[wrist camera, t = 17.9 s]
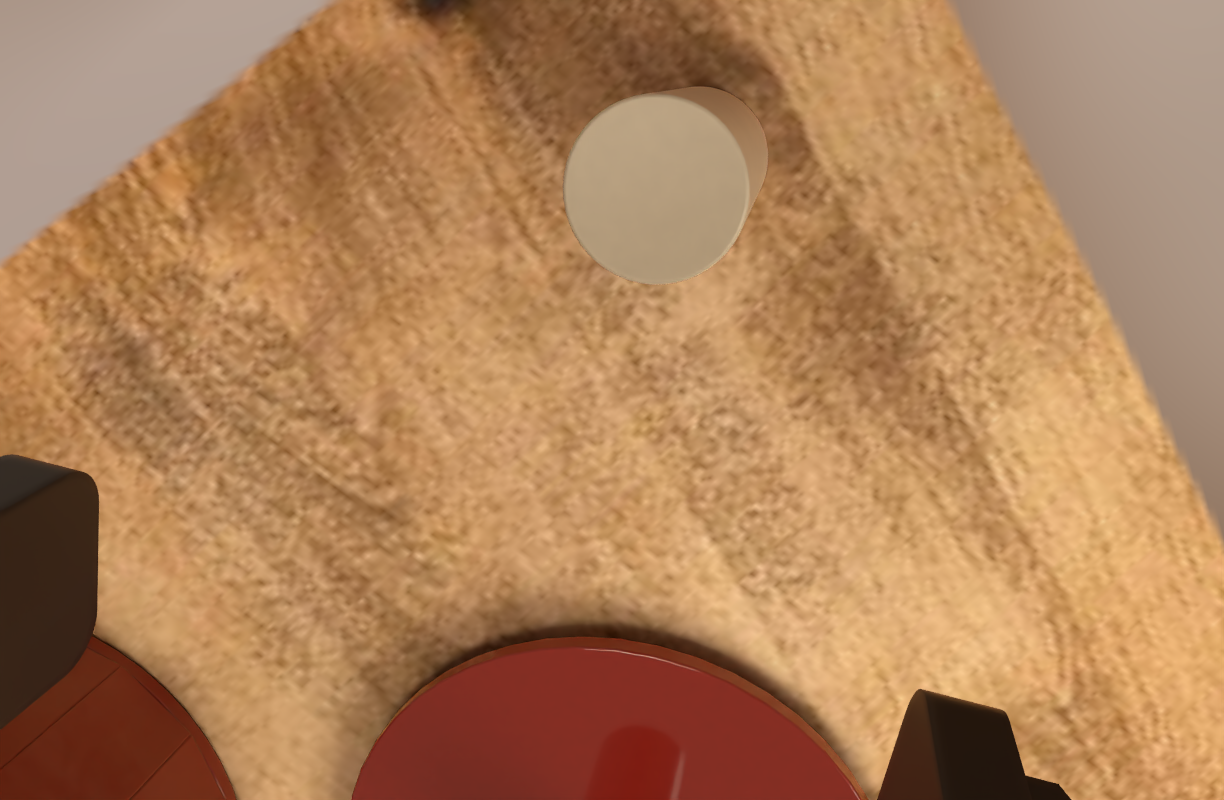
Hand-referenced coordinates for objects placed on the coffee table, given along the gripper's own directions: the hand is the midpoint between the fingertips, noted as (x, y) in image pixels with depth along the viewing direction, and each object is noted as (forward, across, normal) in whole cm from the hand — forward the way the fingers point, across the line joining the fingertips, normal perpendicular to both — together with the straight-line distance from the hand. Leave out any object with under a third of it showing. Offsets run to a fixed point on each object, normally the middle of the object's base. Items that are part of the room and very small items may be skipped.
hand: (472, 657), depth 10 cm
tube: (+16, 0, -3) cm, 17 cm away
